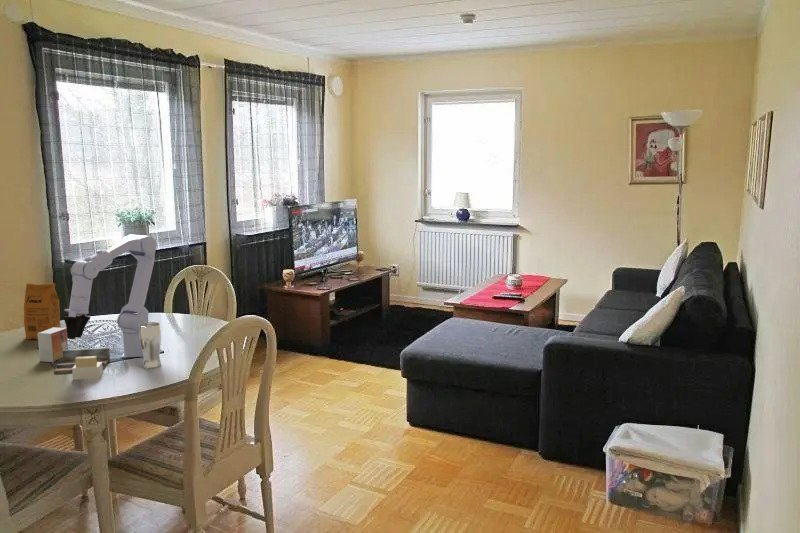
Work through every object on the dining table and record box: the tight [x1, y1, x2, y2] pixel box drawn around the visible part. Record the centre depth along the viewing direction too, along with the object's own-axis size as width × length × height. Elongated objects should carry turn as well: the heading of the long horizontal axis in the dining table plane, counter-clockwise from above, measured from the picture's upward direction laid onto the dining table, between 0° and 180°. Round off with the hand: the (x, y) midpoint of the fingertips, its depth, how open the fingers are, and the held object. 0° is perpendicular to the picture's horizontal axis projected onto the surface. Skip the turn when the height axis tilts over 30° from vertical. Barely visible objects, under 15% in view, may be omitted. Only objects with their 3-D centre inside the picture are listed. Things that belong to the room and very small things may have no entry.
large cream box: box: [72, 356, 104, 381], centre depth 210 cm, size 8×5×7 cm, turn 103°
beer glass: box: [139, 321, 162, 370], centre depth 220 cm, size 7×7×15 cm
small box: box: [37, 327, 69, 363], centre depth 227 cm, size 8×6×10 cm
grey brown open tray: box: [53, 347, 111, 375], centre depth 220 cm, size 15×12×4 cm
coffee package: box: [23, 282, 62, 341], centre depth 252 cm, size 10×12×22 cm
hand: (74, 338), depth 209 cm, fingers open, 7 cm apart
